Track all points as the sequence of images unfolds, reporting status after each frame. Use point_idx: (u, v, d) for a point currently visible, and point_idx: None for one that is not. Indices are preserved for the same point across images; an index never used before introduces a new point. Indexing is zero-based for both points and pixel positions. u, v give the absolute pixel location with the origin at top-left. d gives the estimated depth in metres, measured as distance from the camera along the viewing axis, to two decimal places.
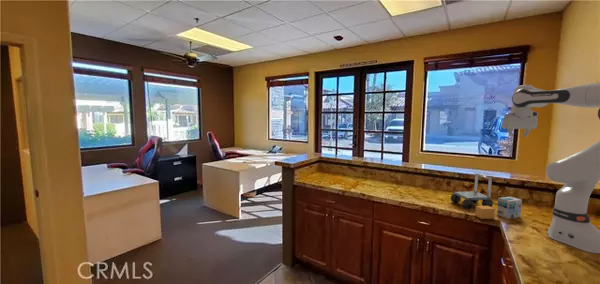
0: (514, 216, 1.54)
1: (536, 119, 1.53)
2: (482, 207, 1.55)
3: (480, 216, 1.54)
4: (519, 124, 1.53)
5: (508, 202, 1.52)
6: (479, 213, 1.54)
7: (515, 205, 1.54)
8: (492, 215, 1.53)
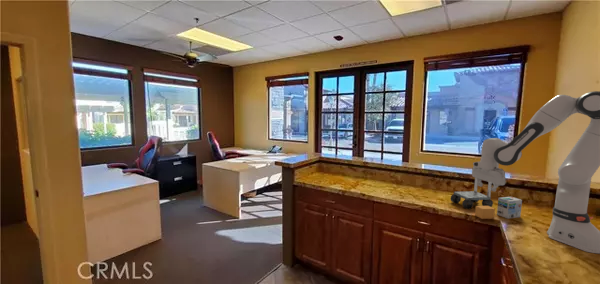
0: (514, 216, 1.54)
1: None
2: (482, 207, 1.55)
3: (480, 216, 1.54)
4: None
5: (508, 202, 1.52)
6: (479, 213, 1.54)
7: (515, 205, 1.54)
8: (492, 215, 1.53)
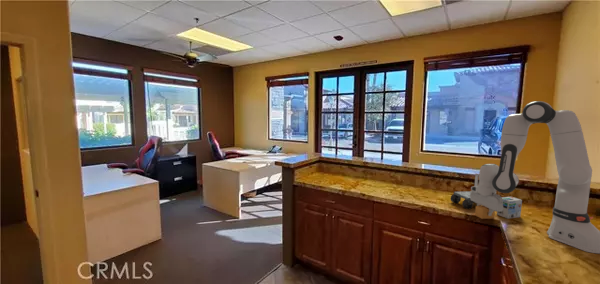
0: (514, 216, 1.54)
1: None
2: (482, 207, 1.55)
3: (480, 216, 1.54)
4: None
5: (508, 202, 1.52)
6: (479, 212, 1.54)
7: (515, 205, 1.54)
8: (492, 215, 1.53)
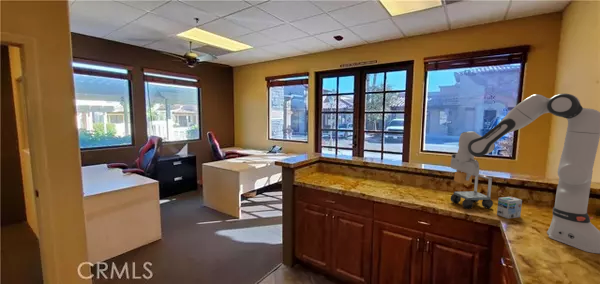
0: (514, 216, 1.54)
1: None
2: (460, 172, 1.63)
3: (458, 181, 1.62)
4: None
5: (508, 202, 1.52)
6: (458, 178, 1.63)
7: (515, 205, 1.54)
8: (469, 180, 1.62)
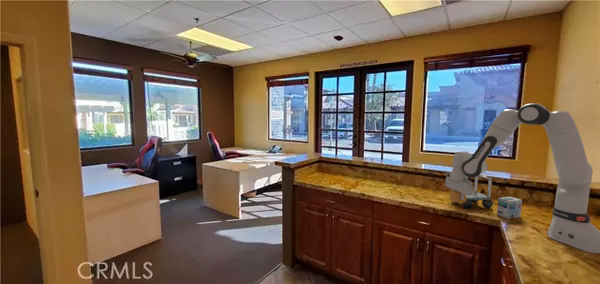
0: (514, 216, 1.54)
1: None
2: (455, 191, 1.66)
3: (453, 200, 1.65)
4: None
5: (508, 202, 1.52)
6: (452, 197, 1.66)
7: (515, 205, 1.54)
8: (464, 199, 1.65)
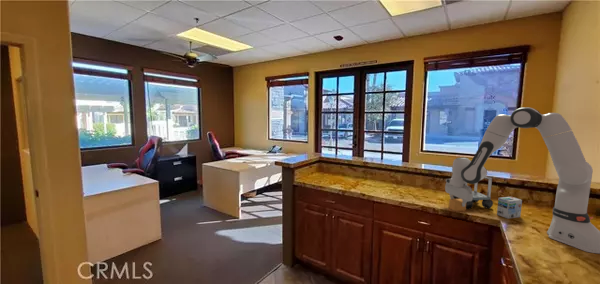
0: (514, 216, 1.54)
1: None
2: (455, 200, 1.67)
3: (453, 208, 1.66)
4: None
5: (508, 202, 1.52)
6: (452, 205, 1.66)
7: (515, 205, 1.54)
8: (463, 207, 1.66)
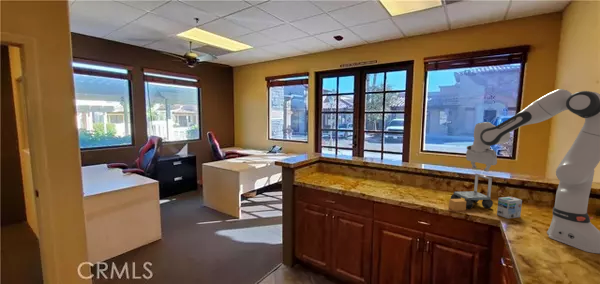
0: (514, 216, 1.54)
1: None
2: (455, 200, 1.67)
3: (453, 208, 1.66)
4: None
5: (508, 202, 1.52)
6: (452, 205, 1.66)
7: (515, 205, 1.54)
8: (463, 207, 1.66)
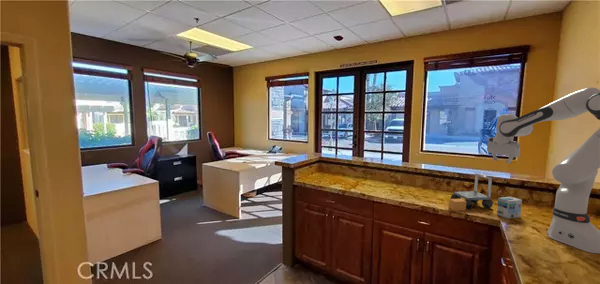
0: (514, 216, 1.54)
1: None
2: (455, 200, 1.67)
3: (453, 208, 1.66)
4: None
5: (508, 202, 1.52)
6: (452, 205, 1.66)
7: (515, 205, 1.54)
8: (463, 207, 1.66)
